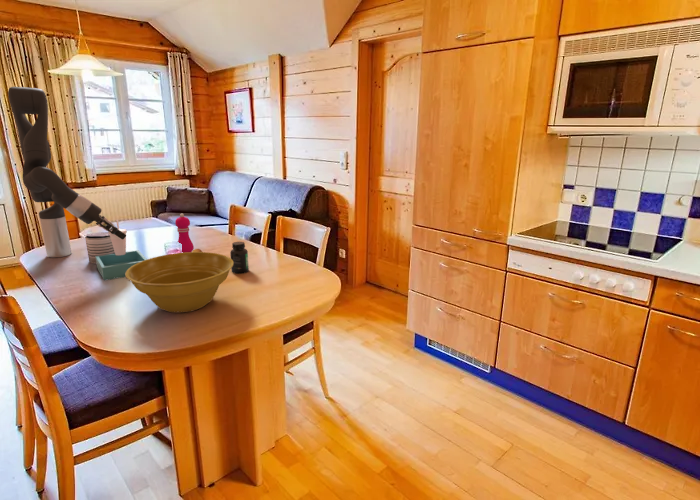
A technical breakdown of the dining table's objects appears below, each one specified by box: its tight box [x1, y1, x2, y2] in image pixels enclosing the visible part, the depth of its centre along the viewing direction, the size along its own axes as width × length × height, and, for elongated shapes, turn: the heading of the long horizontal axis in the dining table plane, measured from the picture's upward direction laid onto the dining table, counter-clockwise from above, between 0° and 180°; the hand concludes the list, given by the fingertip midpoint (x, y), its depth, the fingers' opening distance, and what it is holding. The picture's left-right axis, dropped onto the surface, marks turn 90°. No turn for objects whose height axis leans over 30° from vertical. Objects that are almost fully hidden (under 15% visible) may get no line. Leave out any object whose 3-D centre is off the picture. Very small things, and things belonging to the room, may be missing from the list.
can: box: [84, 231, 115, 265], centre depth 179 cm, size 11×11×12 cm
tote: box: [95, 249, 148, 281], centre depth 167 cm, size 18×16×5 cm
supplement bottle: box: [229, 241, 250, 275], centre depth 167 cm, size 7×7×12 cm
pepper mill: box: [174, 213, 195, 253], centre depth 183 cm, size 7×7×20 cm
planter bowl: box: [125, 251, 234, 313], centre depth 135 cm, size 32×32×13 cm
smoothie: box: [107, 219, 127, 255], centre depth 164 cm, size 6×6×14 cm
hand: (122, 235), depth 165 cm, fingers closed on smoothie, 6 cm apart
